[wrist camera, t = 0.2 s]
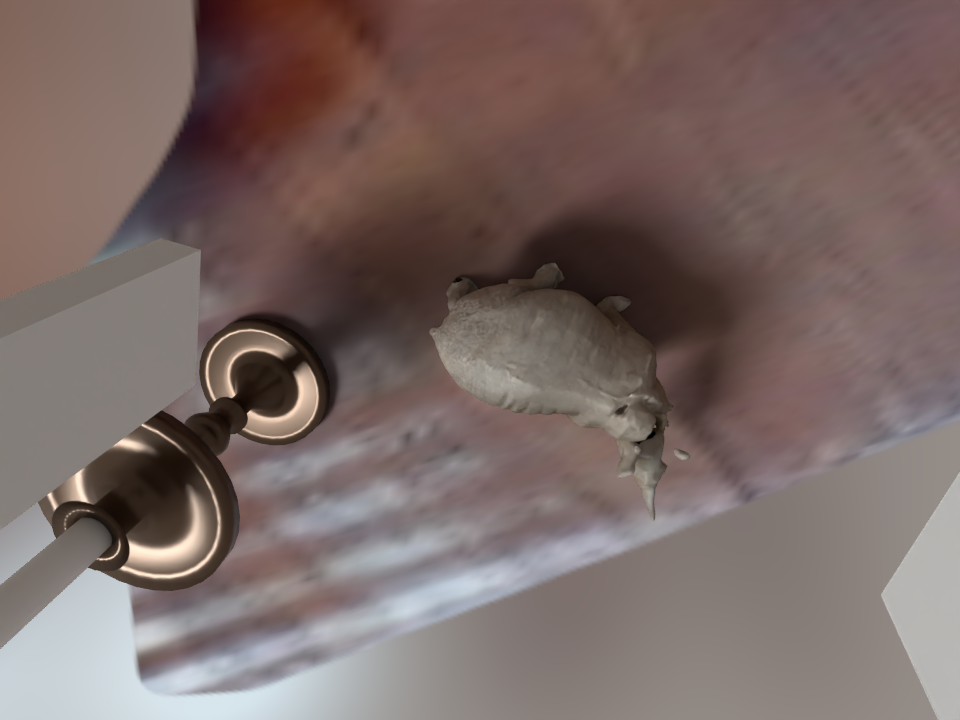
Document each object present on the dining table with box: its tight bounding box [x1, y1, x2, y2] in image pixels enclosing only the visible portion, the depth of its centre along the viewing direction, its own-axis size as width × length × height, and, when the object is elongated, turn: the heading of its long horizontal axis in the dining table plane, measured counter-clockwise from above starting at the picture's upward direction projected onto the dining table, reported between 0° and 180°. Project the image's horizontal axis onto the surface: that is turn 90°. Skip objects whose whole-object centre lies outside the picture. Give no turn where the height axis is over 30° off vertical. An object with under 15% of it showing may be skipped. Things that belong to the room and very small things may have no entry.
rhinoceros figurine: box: [430, 263, 690, 521], centre depth 37 cm, size 8×14×15 cm
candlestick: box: [0, 319, 330, 649], centre depth 31 cm, size 11×11×35 cm
